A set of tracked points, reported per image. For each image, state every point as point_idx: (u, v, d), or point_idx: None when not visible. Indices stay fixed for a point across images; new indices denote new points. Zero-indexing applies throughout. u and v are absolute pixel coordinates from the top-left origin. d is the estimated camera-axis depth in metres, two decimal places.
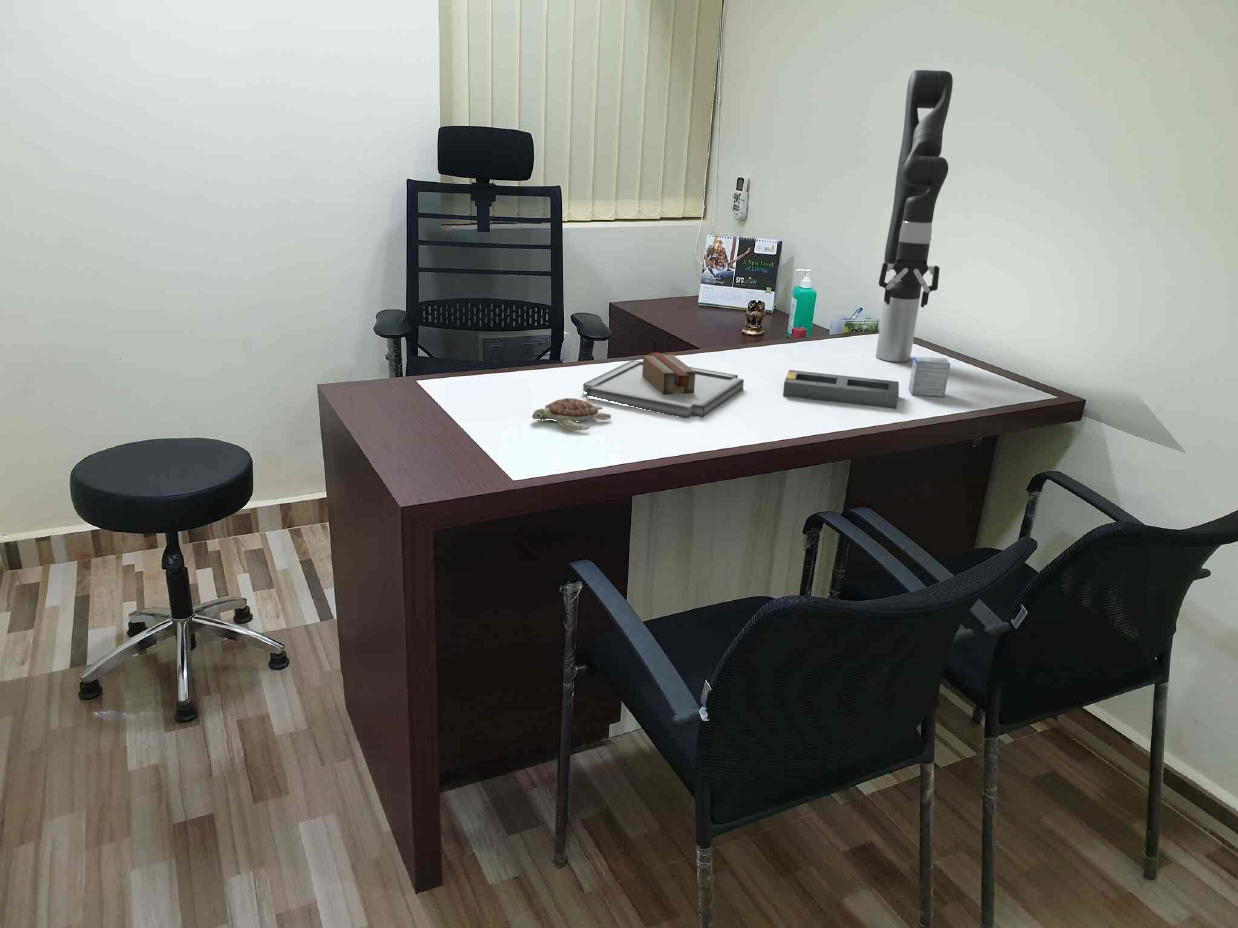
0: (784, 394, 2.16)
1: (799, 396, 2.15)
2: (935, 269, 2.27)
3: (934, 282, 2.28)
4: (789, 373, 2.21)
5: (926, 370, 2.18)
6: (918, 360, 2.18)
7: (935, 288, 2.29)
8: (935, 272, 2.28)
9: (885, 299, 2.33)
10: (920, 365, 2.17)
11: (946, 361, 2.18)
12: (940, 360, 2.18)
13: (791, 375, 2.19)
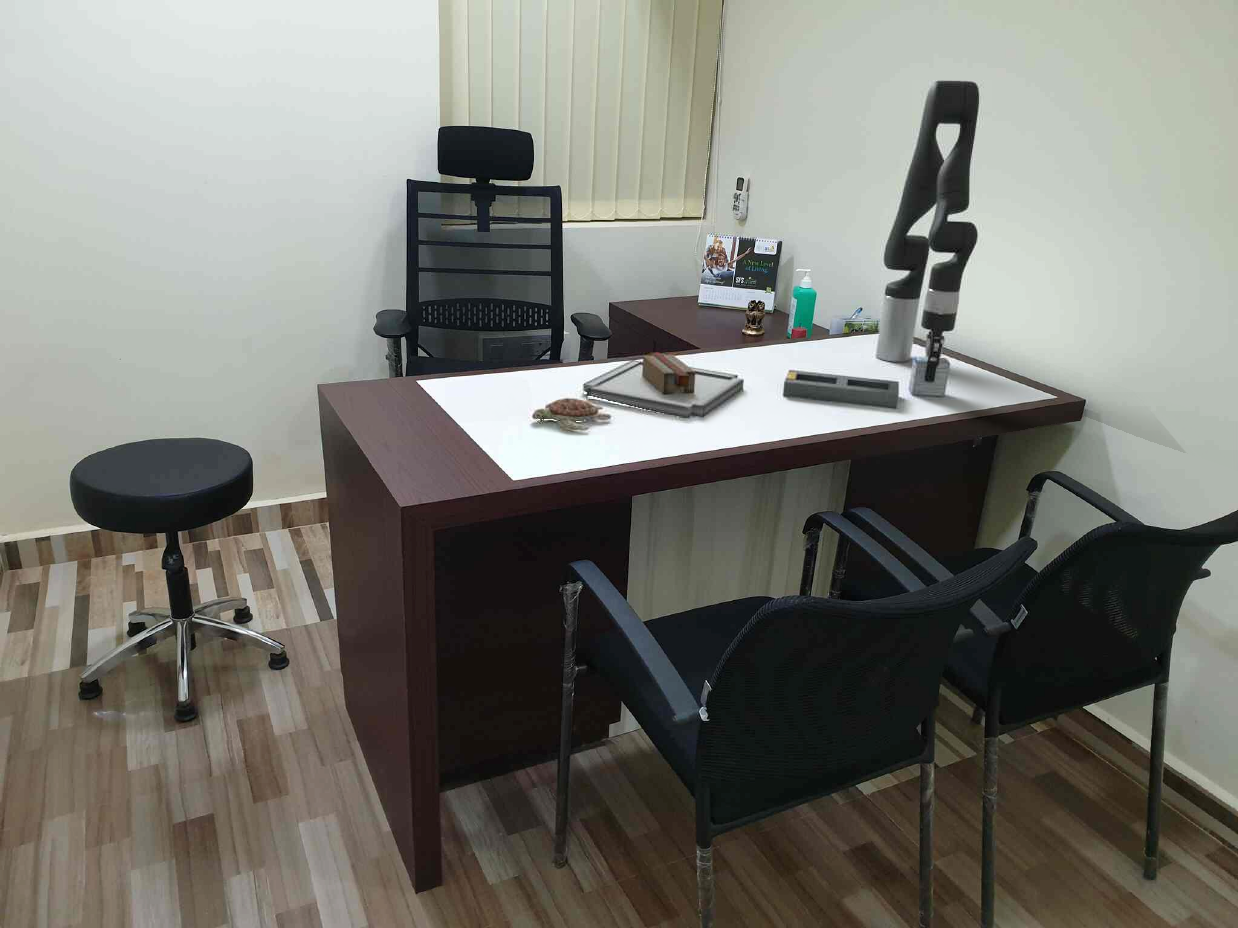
0: (784, 394, 2.16)
1: (799, 396, 2.15)
2: None
3: None
4: (789, 373, 2.21)
5: None
6: (918, 360, 2.18)
7: None
8: None
9: (933, 377, 2.17)
10: (920, 364, 2.17)
11: (946, 361, 2.18)
12: (940, 360, 2.18)
13: (791, 375, 2.19)
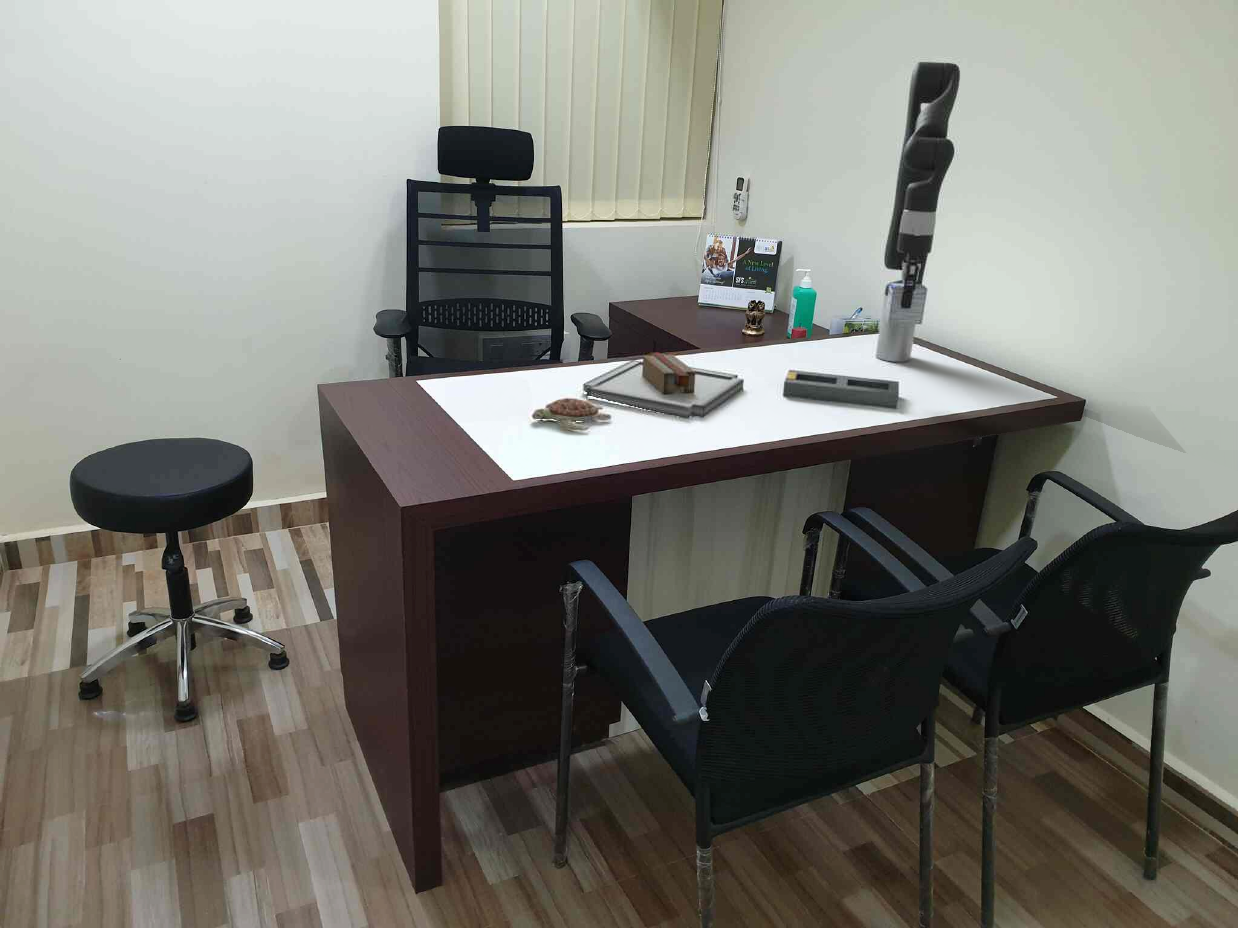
0: (784, 394, 2.16)
1: (799, 396, 2.15)
2: None
3: None
4: (789, 373, 2.21)
5: None
6: (894, 286, 2.10)
7: None
8: None
9: (909, 303, 2.09)
10: (896, 290, 2.10)
11: (923, 286, 2.10)
12: (917, 286, 2.11)
13: (791, 375, 2.19)
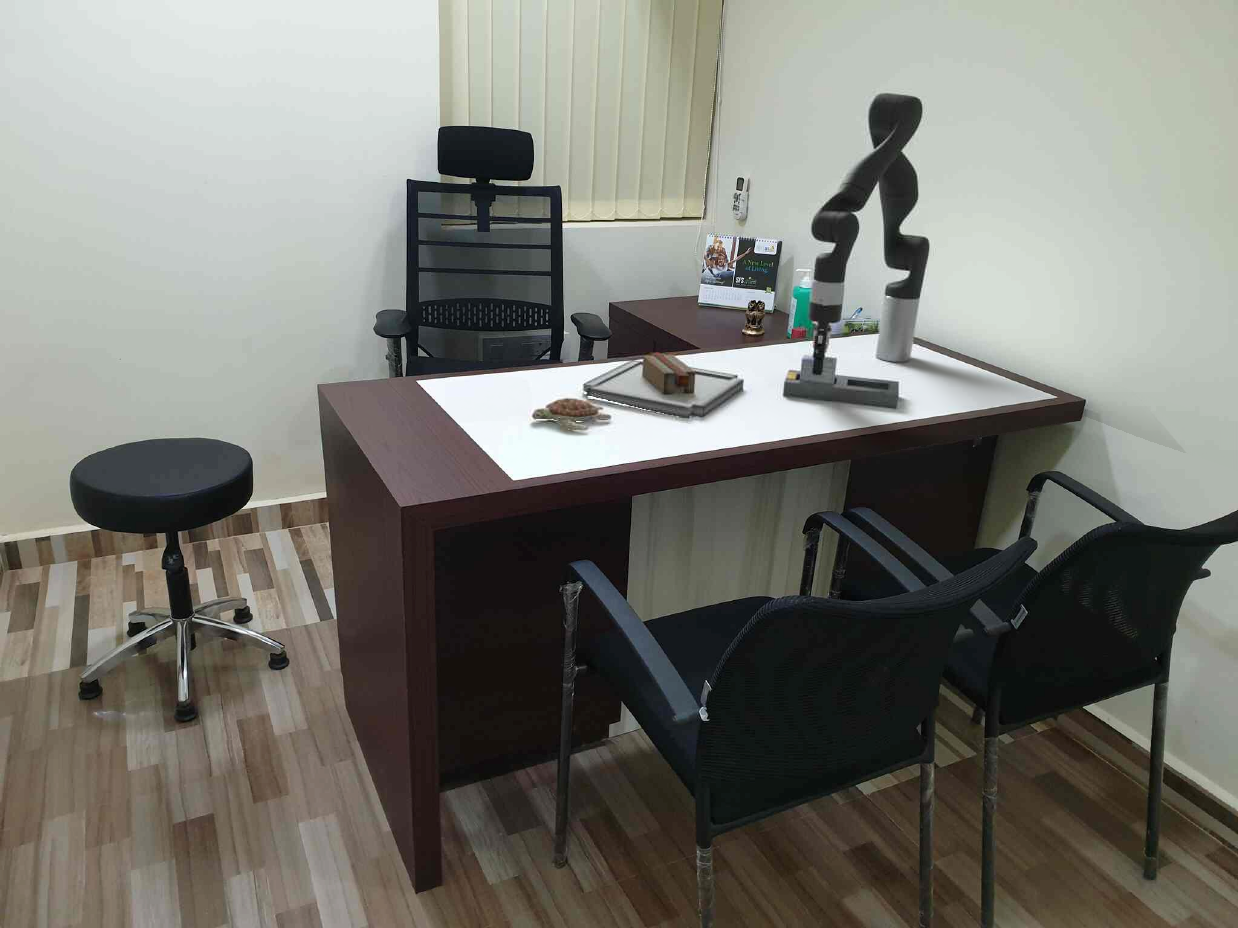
0: (784, 394, 2.16)
1: (799, 396, 2.15)
2: (829, 327, 2.18)
3: None
4: (789, 373, 2.21)
5: (811, 368, 2.15)
6: (804, 358, 2.15)
7: None
8: None
9: (820, 370, 2.13)
10: (805, 362, 2.15)
11: (833, 360, 2.14)
12: (827, 359, 2.15)
13: (791, 375, 2.19)
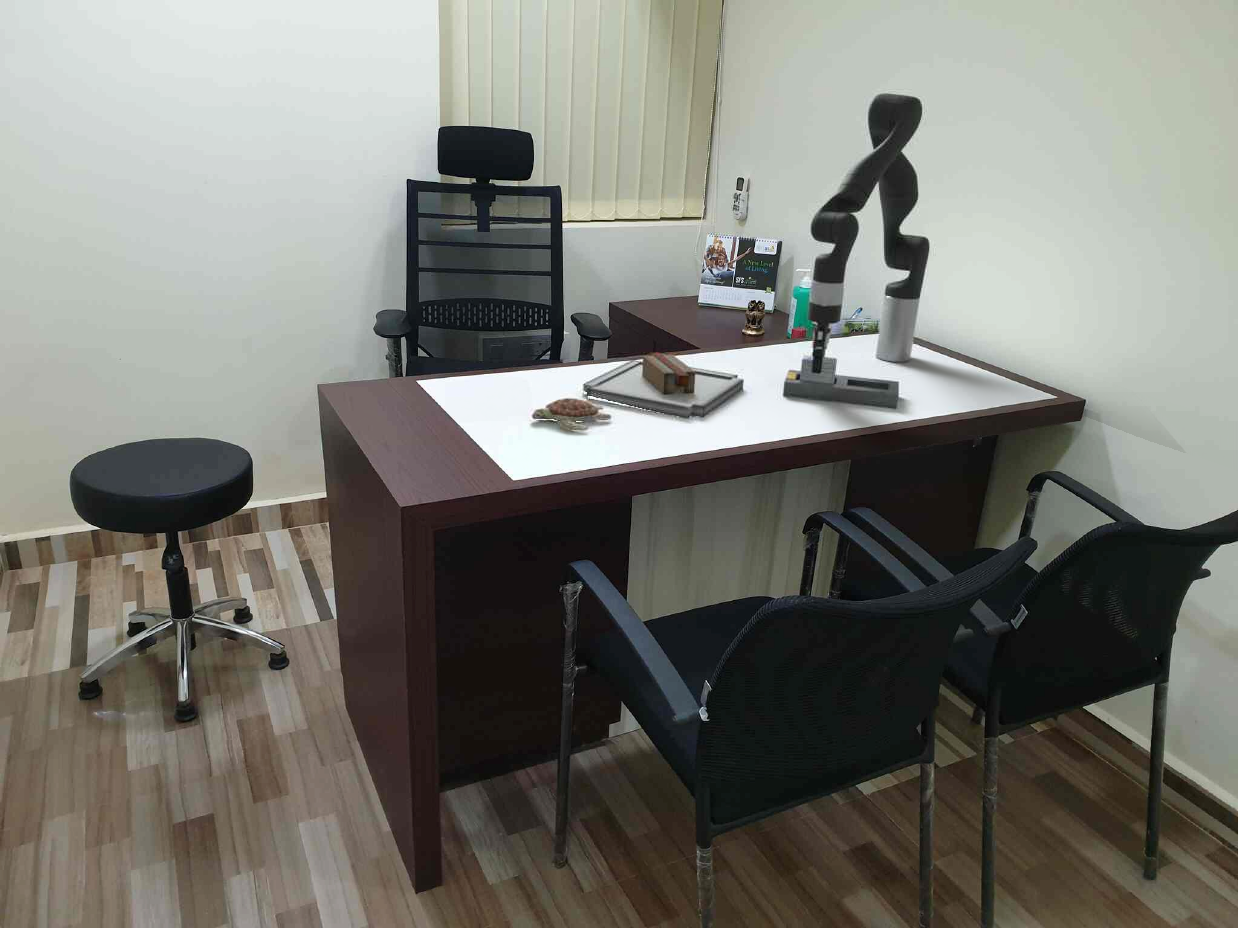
0: (784, 394, 2.16)
1: (799, 396, 2.15)
2: (829, 323, 2.18)
3: None
4: (789, 373, 2.21)
5: (811, 368, 2.15)
6: (804, 358, 2.15)
7: None
8: None
9: (819, 368, 2.12)
10: (805, 363, 2.15)
11: (833, 361, 2.14)
12: (827, 360, 2.15)
13: (791, 375, 2.19)
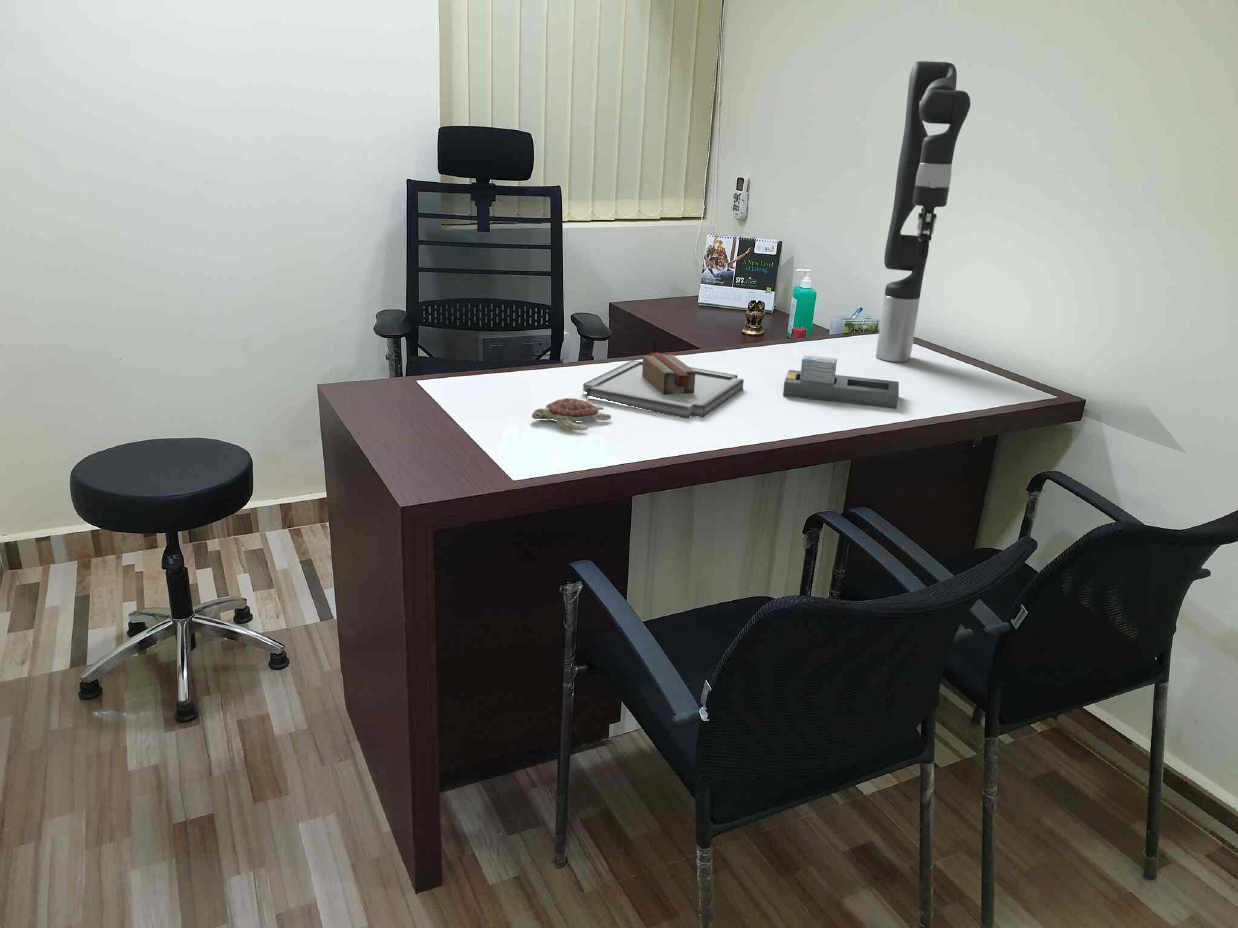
0: (784, 394, 2.16)
1: (799, 396, 2.15)
2: None
3: None
4: (789, 373, 2.21)
5: (811, 368, 2.15)
6: (804, 358, 2.15)
7: None
8: None
9: (925, 253, 2.10)
10: (805, 363, 2.15)
11: (833, 361, 2.14)
12: (827, 360, 2.15)
13: (791, 375, 2.19)
